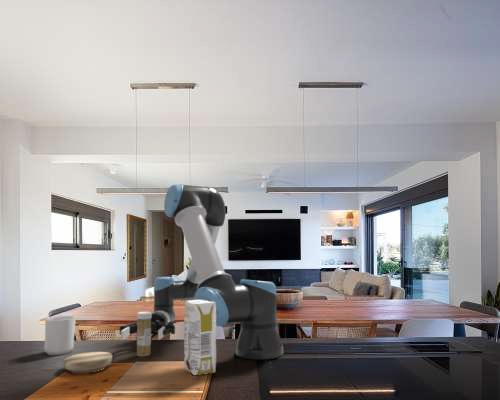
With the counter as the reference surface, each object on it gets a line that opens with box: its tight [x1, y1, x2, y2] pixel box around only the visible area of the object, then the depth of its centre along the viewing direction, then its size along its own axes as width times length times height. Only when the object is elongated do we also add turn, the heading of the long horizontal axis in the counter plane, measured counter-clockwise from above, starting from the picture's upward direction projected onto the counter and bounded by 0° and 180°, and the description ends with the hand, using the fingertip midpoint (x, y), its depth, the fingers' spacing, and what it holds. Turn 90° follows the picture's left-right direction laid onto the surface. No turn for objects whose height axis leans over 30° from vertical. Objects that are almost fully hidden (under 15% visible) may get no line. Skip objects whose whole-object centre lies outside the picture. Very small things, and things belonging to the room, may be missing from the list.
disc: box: [63, 351, 113, 375], centre depth 117 cm, size 13×13×3 cm
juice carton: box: [183, 299, 217, 376], centre depth 113 cm, size 8×9×19 cm
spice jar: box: [136, 311, 152, 358], centre depth 132 cm, size 5×5×14 cm
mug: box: [44, 315, 76, 356], centre depth 139 cm, size 12×9×11 cm
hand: (140, 335), depth 128 cm, fingers open, 11 cm apart
